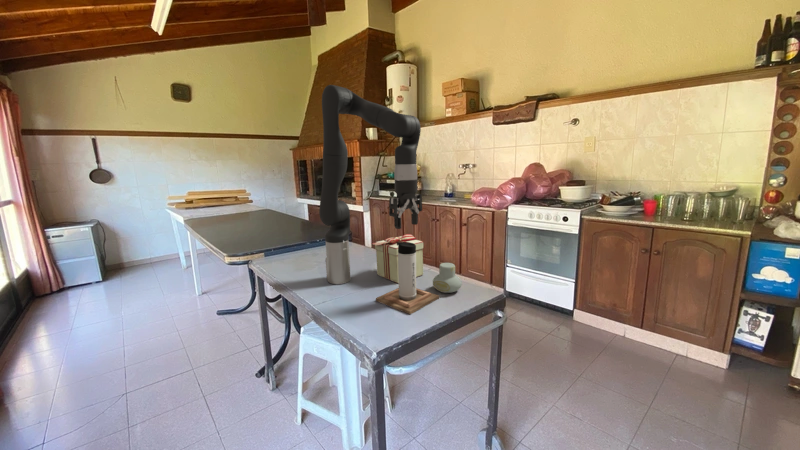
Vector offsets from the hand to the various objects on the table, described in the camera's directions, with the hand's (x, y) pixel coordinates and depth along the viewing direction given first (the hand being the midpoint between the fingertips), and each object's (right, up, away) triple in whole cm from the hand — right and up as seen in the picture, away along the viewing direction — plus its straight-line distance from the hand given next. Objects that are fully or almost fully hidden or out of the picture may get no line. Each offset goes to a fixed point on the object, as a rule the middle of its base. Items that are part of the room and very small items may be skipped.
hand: (406, 226), depth 110 cm
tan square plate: (0, -26, +6) cm, 27 cm away
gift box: (-4, -21, +30) cm, 37 cm away
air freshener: (+16, -24, +13) cm, 32 cm away
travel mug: (0, -25, +5) cm, 26 cm away
